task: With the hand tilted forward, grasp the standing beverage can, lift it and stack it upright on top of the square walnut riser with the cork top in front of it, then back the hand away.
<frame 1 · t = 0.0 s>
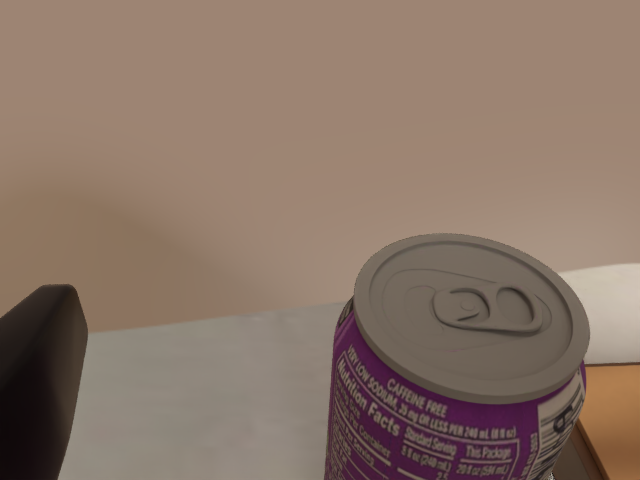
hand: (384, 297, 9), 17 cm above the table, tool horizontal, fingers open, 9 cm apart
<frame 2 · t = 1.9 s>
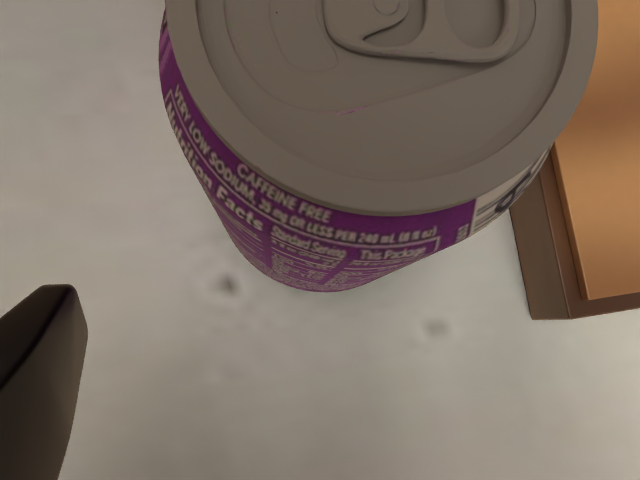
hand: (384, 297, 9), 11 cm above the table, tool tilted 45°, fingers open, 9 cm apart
beverage can: (321, 192, 20), on the table
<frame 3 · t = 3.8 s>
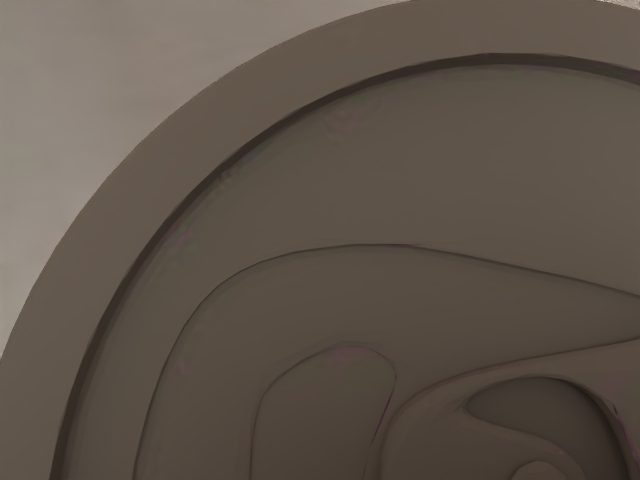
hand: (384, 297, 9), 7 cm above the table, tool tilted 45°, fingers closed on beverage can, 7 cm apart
beverage can: (335, 361, 15), on the table, touching gripper
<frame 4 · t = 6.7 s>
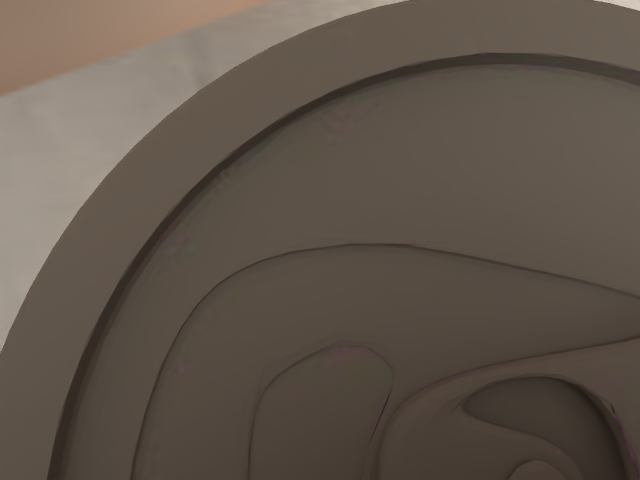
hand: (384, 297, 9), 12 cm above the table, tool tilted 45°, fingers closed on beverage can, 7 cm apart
beverage can: (334, 360, 15), point 6 cm above the table, touching gripper
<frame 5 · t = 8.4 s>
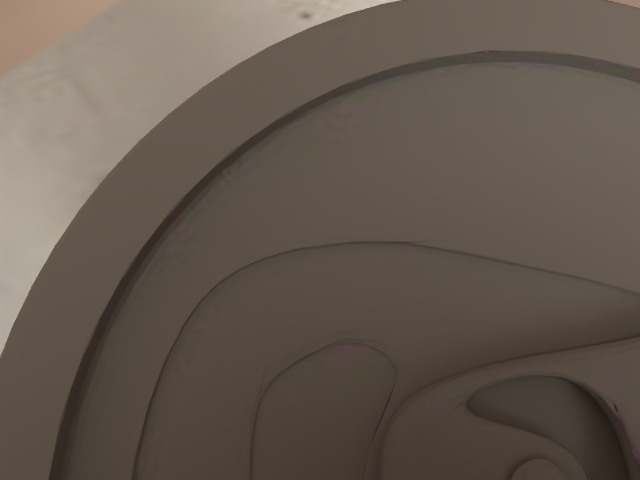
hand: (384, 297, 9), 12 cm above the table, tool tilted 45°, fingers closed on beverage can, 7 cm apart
beverage can: (334, 360, 15), point 5 cm above the table, touching gripper
when the fingers open (10 cm above the table, at t = 9.8 s): beverage can stays where it is, resting on riser.
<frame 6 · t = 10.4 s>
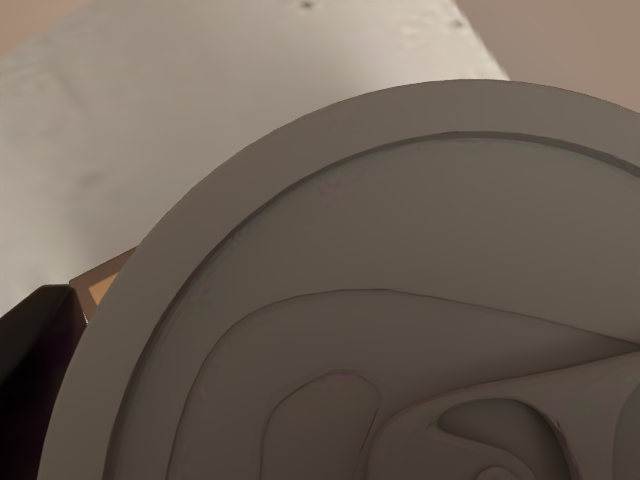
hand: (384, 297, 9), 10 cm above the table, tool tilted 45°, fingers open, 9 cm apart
beverage can: (332, 367, 16), point 3 cm above the table, touching riser
riser: (326, 354, 19), on the table
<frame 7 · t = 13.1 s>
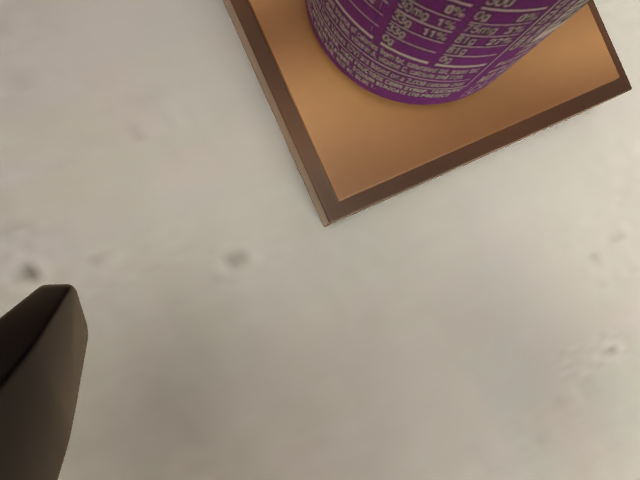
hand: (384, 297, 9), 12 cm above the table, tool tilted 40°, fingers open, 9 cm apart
beverage can: (414, 2, 18), point 3 cm above the table, touching riser
riser: (399, 30, 21), on the table
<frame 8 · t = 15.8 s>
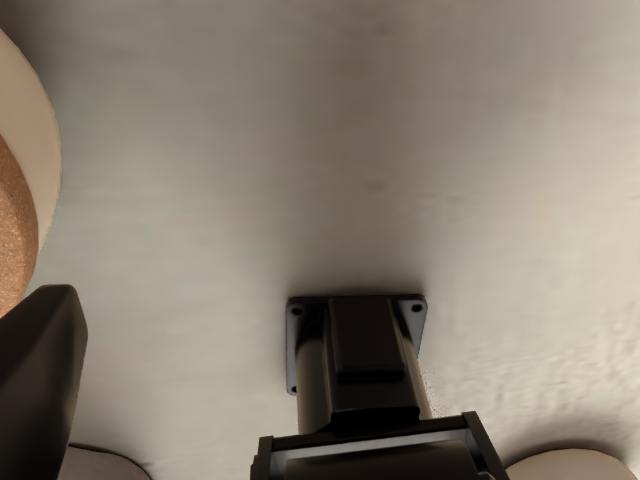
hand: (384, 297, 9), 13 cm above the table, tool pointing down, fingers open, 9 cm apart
donut: (547, 478, 38), on the table
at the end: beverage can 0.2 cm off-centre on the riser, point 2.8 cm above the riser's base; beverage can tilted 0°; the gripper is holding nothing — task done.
